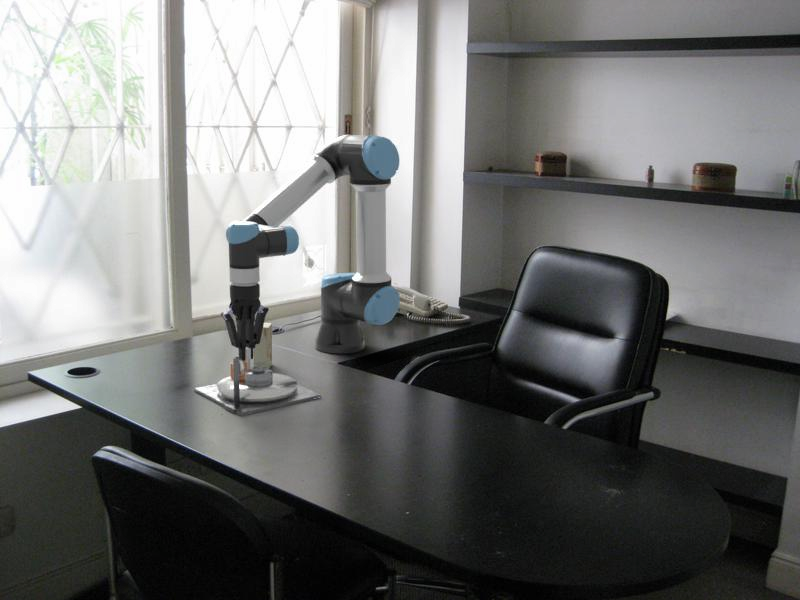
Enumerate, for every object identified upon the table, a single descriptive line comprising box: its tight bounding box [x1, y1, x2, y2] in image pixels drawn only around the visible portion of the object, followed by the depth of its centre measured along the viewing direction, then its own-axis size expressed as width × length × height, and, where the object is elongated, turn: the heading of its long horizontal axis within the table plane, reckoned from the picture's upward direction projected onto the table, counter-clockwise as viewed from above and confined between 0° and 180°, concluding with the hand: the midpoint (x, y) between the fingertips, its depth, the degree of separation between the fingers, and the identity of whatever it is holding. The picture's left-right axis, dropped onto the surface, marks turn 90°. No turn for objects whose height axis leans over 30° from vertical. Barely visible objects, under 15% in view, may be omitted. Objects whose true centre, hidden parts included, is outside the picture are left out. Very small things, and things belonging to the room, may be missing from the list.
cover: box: [245, 365, 274, 388], centre depth 217 cm, size 7×7×4 cm
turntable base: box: [194, 383, 322, 417], centre depth 217 cm, size 23×23×1 cm
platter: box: [216, 362, 298, 402], centre depth 216 cm, size 20×20×5 cm
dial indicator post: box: [224, 356, 248, 415], centre depth 205 cm, size 4×6×13 cm
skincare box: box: [253, 322, 273, 369], centre depth 240 cm, size 6×4×12 cm
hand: (246, 371), depth 222 cm, fingers closed
